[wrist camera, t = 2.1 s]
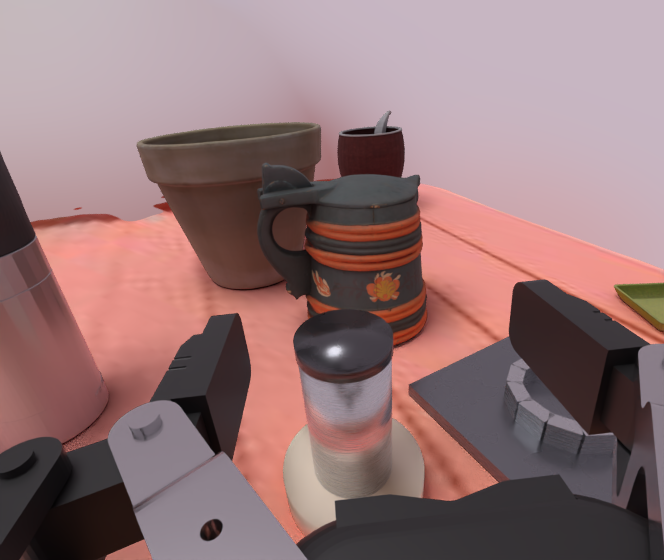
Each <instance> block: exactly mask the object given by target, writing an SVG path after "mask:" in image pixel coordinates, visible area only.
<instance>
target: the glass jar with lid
mask: <svg viewBox="0 0 664 560" xmlns="http://www.w3.org/2000/svg"><path fill="white" fill-rule="evenodd" d="M293 343H294V350H295V356H296V361H297V364H298V365H299V371H300V378H301V385H302V391H303V398H304V405H305V411H306V418H307V425H308V431H309V438H310V445H311V451H312V458H313V465H314V471H315V475H316V477H317V479H318V481H319V482H320V484H321V485H322V486H323V487H324V488H325V489H326V490H327V491H328V492H330V493H332V494H334V495H336V496H338V497H341V498H346V499H353V498H361V497H367V496H370V495H372V494H374V493H376V492H377V491H378V490H380V489H381V488H382V487H383V486H384V485H385V483H386V482H387V480H388V479H389V477H390V474H391V471H392V356H393V332H392V329H391V327H390V325H389V324H388V323H387V322H386V321H385V320H384V319H382V318H381V317H379V316H377V315H375V314H373V313H370V312H367V311H362V310H356V309H339V310H332V311H327V312H324V313H321V314H318V315H316V316H314V317H312V318H310V319H308V320H307V321H305V322H304V323H303V324H302V325H301V326H300V327H299V328H298V329H297V331H296V333H295V335H294V340H293Z"/></svg>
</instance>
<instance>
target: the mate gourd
mask: <svg viewBox="0 0 664 560" xmlns="http://www.w3.org/2000/svg"><path fill="white" fill-rule="evenodd" d="M390 114H391V111H387V113H385V115H383V117H382V118H381V119H380V120H379V121H378V123H377V125H376V127H364V128H356V129H350V130H345V131H341V132H339V140H338V165H339V169H340V174H341V177H345V176H349V175H360V174H376V175H387V176H393V177H400V178H401V176H402V172H403V166H404V153H405V152H404V150H405V148H404V140H403V135H402V128H400V127H392V126H390V127H389V126H387V121H388V118H389V115H390Z"/></svg>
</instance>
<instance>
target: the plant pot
mask: <svg viewBox="0 0 664 560" xmlns="http://www.w3.org/2000/svg"><path fill="white" fill-rule="evenodd" d="M137 148H138V151H139V154H140V157H141V160H142V163H143V165H144V168H145V171H146V174H147V177H148V179H149V180H150V181H152V182H154V183H157V184H158V186H159V188H160V189H161V192H162V193H163V195H164V197H165V199H166V201H167V203H168V204H169V206H170V208H171V210H172V212H173V214H174V215H175V217H176V219H177V221H178V222H179V224H180V226H181V228H182V229H183V231H184V233H185V235H186V236H187V238H188V240H189V242H190V243H191V245H192V247H193V249H194V250H195V252H196V254H197V256H198V258H199V259H200V261H201V263H202V265H203V266H204V268H205V270H206V271H207V273H208V275H209V276H210V278H211V279H212V280H213V281H214V282H215V283H216V284H218V285H220V286H223V287H226V288H232V289H252V288H259V287H264V286H268V285H272V284H275V283H278V282H280V281H283V280H284V278H283V277H282V276H281V275H279V274H278V273H277V272H276V270H275V269H274V268H273V267H272V266H271V264H270V263H269V262H268V260H267V259H266V257H265V256H264V254H263V252H262V250H261V247H260V244H259V240H258V235H257V225H258V219H259V214H260V211H261V207H260V201H259V199H258V194H257V189H259V188H263V187H262V165H263V164H264V163H268V164H269V165H285V166H288V167H291V168H294V169H296V170H298V171H299V172H301V173H302V174H304V175H305V176H306V177H307V179H308V180H309V181H310V182H313V179H314V172H315V165H316V164H317V163H318V162H319V161H320V160H321V128H320V125H318V124H314V123H299V122H298V123H297V122H294V123H266V124H250V125H239V126H227V127H218V128H209V129H201V130H194V131H188V132H181V133H174V134H168V135H163V136H157V137H153V138H148V139H144V140H141V141H139V142H138V143H137ZM306 214H307V211H306V210H305V209H304V208H298V207H292V208H287V209H285V210H283V211H281V212H280V213H279V214H278V215H277V216H276V218H275V220H274V222H273V227H272V231H273V236H274V239H275V241H276V242H277V244H278V245H279V246H281V247H282V248H284V249H287V250H291V251H301V250H302V249H303V243H304V237H305V230H306Z"/></svg>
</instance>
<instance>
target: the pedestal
mask: <svg viewBox="0 0 664 560" xmlns="http://www.w3.org/2000/svg"><path fill="white" fill-rule="evenodd" d="M283 479H284V484H285V489H286V494H287V498H288V503H289V508H290V511H291V514H292V517H293V519H294V521H295V523H296V525H297V527H298V528H299V529H300V531H301V532H302V533H303V534H304V535H305V536H307V535H308V534H310V533H311V532H313V531H314V530H316V529H318V528H320V527H321V526H323V525H325V524H327V523H330V522H332V521H335V520H336V514H335V501H336V500H344V499H346V498H341V497H338V496H336V495H334V494H332V493H330V492H328V491H327V490H326V489H325V488H324V487H323V486H322V485H321V484H320V482H319V481H318V479H317V477H316V475H315V471H314V465H313V458H312V451H311V445H310V438H309V431H308V425H307V424H306V425H305V426H304V427H303V428H302V429H301V430H300V431H299V432H298V433H297V434H296V436H295V437H294V439H293V440H292V442H291V443H290V445H289V447H288V450H287V452H286V455H285V459H284V465H283ZM423 491H424V460H423V456H422V453H421V450H420V448H419V445H418V443H417V442H416V440H415V438H414V437H413V436H412V434H411V433H410V432H409V431H408V430H407V429H406V428H405V427H404V426H403V425H402V424H401V423H399V422H398V421H397V420H395V419H393V418H392V471H391V474H390V477H389V479H388V480H387V482H386V483H385V485H384V486H383V487H382V488H381V489H380V490H378V491H377V492H376V493H374V494H372V495H370V496H378V495H387V494H393V495H401V496H410V497H418V498H423ZM370 496H367V497H370Z"/></svg>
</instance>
